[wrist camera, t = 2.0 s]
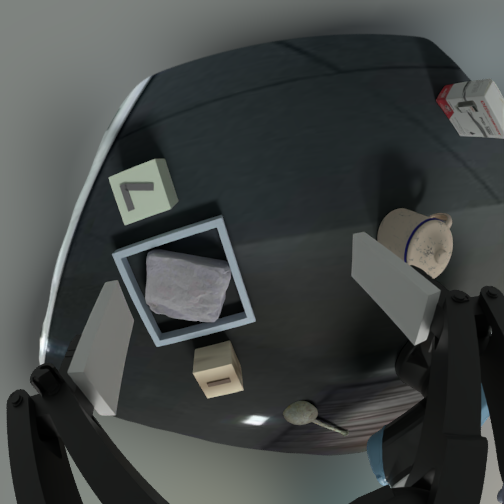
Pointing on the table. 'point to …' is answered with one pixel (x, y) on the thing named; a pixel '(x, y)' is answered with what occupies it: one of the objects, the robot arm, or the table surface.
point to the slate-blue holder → (140, 301)
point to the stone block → (186, 285)
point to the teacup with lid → (418, 239)
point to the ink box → (474, 108)
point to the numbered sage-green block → (143, 190)
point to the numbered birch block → (217, 369)
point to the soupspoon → (305, 415)
